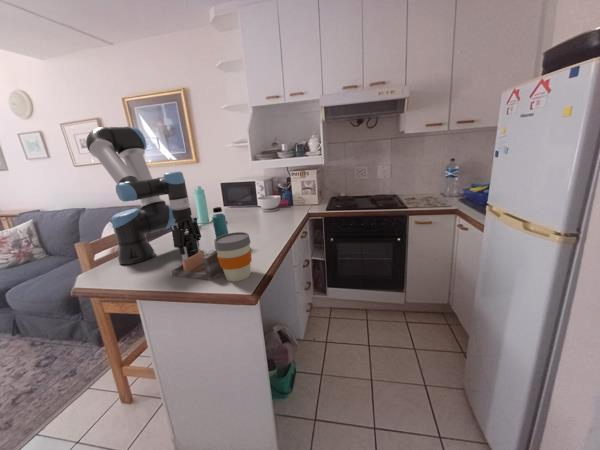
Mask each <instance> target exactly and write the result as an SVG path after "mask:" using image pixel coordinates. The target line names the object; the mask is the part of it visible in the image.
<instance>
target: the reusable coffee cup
mask: <svg viewBox="0 0 600 450" xmlns="http://www.w3.org/2000/svg"><path fill="white" fill-rule="evenodd" d="M228 233H229V232H228ZM214 249H215V251H216V250H217V253H218V255H217V257H218V260H219V263H220V266H221V268H223V273H224V277H225V278H226V281H229V282H240V281H243V280H245V279H248V278H249V277H250V276H251V274H252V273H251V263H252V248H251V238H250V236H249V233H247V232H242V231H239V232H238V231H236V232H230V233H229V234H225V235H222V236H219V237H217V238H216V237H215V238H214Z"/></svg>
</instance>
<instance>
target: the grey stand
mask: <svg viewBox="0 0 600 450" xmlns="http://www.w3.org/2000/svg"><path fill="white" fill-rule="evenodd" d="M217 255H218V253H217V250H216V249H215V250H213V251H212V252H211V253H209V254H207V255H205V257H204V258H203V261H204V263H203V264H202V265H200V266H198V267H197V268H195V269H194V270H192V271H190V272H189V271H184V268H183V264H182V265H179V266H178V267H176V268H174V269H173V270H171V276H172V277H176V278H177V277H178V278H187V279H188V278H189V279H198V280H207V281H208V280H210V281H212V280H214V279H215V278H217V277H218V276H219V275H221V274H222V273H224V271H223V268H221V266H220V263H219V260H218V257H217Z"/></svg>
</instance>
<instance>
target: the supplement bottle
mask: <svg viewBox="0 0 600 450" xmlns="http://www.w3.org/2000/svg"><path fill="white" fill-rule="evenodd" d="M184 247H186V250H187V254H188V258H189V257H191V256H193V255H195V254H196V253H198V252H199V249H200V248H199V249H198V244H197V240H196V238H194V237H193V232H189V231H185V238H184Z"/></svg>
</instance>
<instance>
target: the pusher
mask: <svg viewBox="0 0 600 450" xmlns="http://www.w3.org/2000/svg"><path fill="white" fill-rule="evenodd" d="M205 256H206V255H205V251H204V250H200V252H198V253H196V254H195V255H193V256H191V257H189V258H187V259H185V260H184V261H183V260H182V261H181V263H182V265H183V268H184V271H189V272H190V271H192V270H194V269H195V268H197V267H198V266H200V265H202V264H203V263H204V261H203V258H204V257H205Z"/></svg>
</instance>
